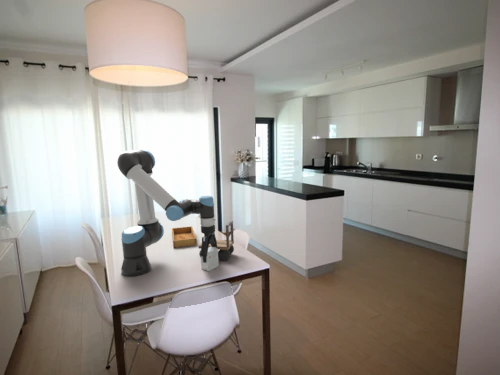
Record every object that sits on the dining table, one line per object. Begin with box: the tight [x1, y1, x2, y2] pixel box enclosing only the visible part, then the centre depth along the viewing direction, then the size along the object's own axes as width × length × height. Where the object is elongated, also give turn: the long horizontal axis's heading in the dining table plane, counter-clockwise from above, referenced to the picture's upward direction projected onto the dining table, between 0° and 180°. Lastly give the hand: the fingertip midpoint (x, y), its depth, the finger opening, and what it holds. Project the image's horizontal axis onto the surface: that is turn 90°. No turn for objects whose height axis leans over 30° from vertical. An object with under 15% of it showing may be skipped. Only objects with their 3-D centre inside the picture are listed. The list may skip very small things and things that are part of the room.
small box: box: [200, 247, 220, 272], centre depth 169 cm, size 8×6×10 cm
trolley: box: [198, 220, 235, 262], centre depth 183 cm, size 12×18×21 cm, turn 78°
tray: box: [171, 225, 198, 249], centre depth 220 cm, size 31×15×6 cm, turn 16°
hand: (209, 262), depth 169 cm, fingers open, 13 cm apart
